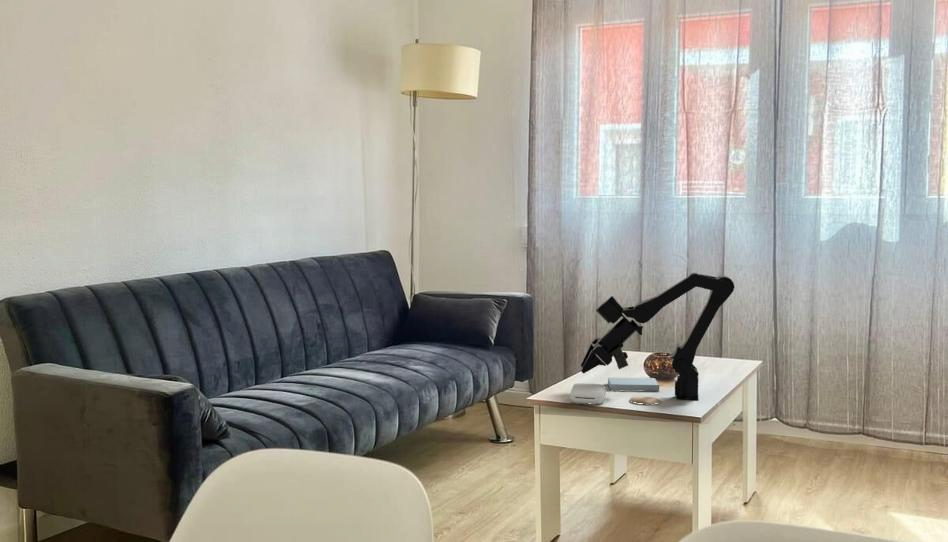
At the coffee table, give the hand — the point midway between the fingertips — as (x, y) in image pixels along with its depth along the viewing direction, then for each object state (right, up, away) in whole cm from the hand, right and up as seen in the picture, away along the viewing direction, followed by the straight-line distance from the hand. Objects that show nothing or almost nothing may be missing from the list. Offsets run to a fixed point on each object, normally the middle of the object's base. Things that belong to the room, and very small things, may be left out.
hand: (582, 369), depth 282 cm
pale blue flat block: (+18, -7, +11) cm, 22 cm away
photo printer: (+2, -6, -3) cm, 7 cm away
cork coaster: (+18, -8, -10) cm, 22 cm away
